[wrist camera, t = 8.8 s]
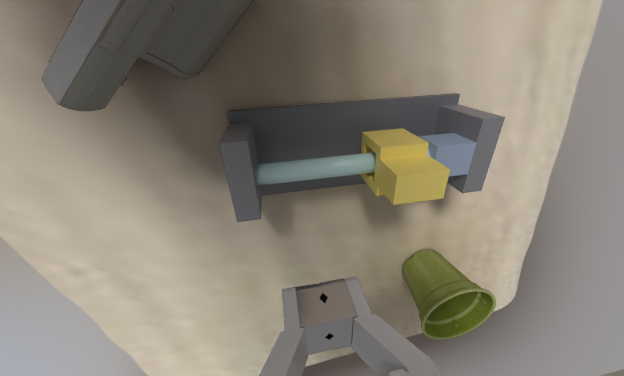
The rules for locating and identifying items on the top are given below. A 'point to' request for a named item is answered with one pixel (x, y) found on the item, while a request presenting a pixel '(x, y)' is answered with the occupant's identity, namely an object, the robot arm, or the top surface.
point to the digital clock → (134, 44)
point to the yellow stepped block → (403, 167)
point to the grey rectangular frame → (348, 144)
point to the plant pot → (445, 296)
